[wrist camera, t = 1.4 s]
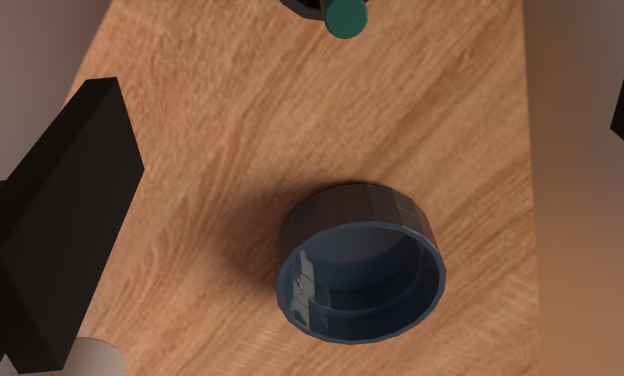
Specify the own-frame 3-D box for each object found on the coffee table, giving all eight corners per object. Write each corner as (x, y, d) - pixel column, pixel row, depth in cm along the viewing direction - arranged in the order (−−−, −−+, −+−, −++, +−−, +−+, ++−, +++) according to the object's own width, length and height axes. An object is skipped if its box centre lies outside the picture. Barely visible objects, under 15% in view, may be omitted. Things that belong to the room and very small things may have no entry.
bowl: (434, 173, 46) (452, 214, 41) (425, 291, 54) (439, 337, 49) (268, 187, 46) (266, 229, 41) (284, 303, 54) (285, 350, 49)
